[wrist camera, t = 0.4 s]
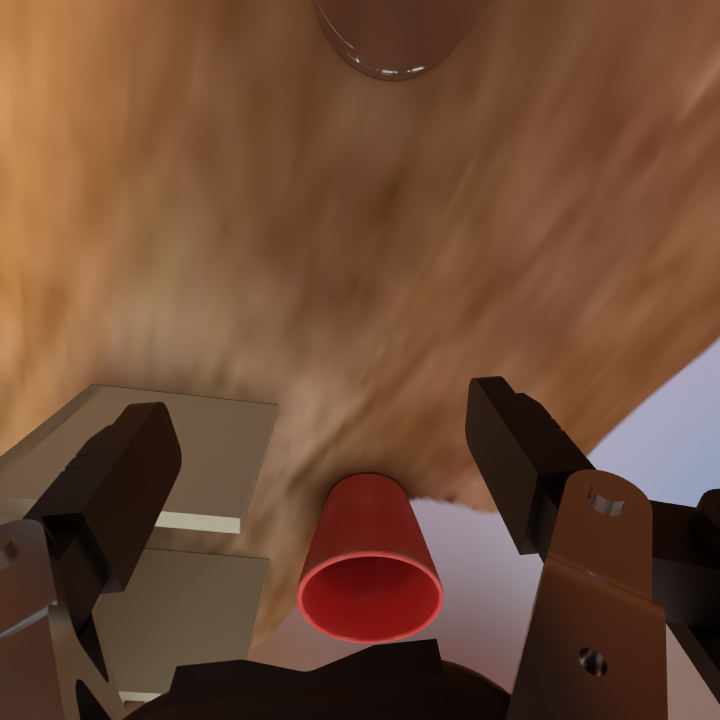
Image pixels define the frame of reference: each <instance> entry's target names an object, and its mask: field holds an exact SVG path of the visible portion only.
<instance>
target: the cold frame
mask: <svg viewBox="0 0 720 720" xmlns="http://www.w3.org/2000/svg"><path fill="white" fill-rule="evenodd" d="M148 402H163V403H164V404H165V405H166V407H167V409H168V411H169V414H170V417H171V420H172V423H173V426H174V429H175V432H176V436H177V439H178V442H179V445H180V448H181V453H182V463H181V469H180V472H179V474H178V477H177V479H176V481H175V483H174V485H173V487H172V490H171V492H170V494H169V496H168V498H167V500H166V502H165V505H164V507H163V509H162V511H161V513H160V515H159V518H158V520H157V522H156V524H155V526H158V527H170V528H181V529H192V530H204V531H215V532H226V533H238V534H240V532H241V529H242V525H243V522H244V519H245V516H246V513H247V510H248V507H249V504H250V500H251V497H252V494H253V491H254V488H255V485H256V482H257V479H258V475H259V472H260V469H261V466H262V463H263V460H264V457H265V454H266V450H267V447H268V444H269V441H270V438H271V435H272V432H273V429H274V425H275V422H276V419H277V411H278V405H273V404H264V403H255V402H246V401H237V400H228V399H219V398H210V397H201V396H192V395H183V394H174V393H165V392H156V391H147V390H138V389H129V388H120V387H111V386H102V385H93V384H91V385H90V386H89V387H88V388H86V389H85V390H84V391H83V392H81V393H80V394H79V395H78V396H76V397H75V398H74V399H73V400H71V401H70V402H69V403H68V404H66V405H65V406H64V407H63V408H61V409H60V410H59V411H57V412H56V413H55V414H54V415H52V416H51V417H50V418H49V419H47V420H46V421H45V422H44V423H42V424H41V425H40V426H39V427H37V428H36V429H35V430H34V431H32V432H31V433H30V434H29V435H27V436H26V437H25V438H24V439H22V440H21V441H20V442H19V443H17V444H16V445H15V446H14V447H12V448H11V449H10V450H9V451H7V452H6V453H5V454H4V455H2V456H1V457H0V525H2V524H5V523H8V522H11V521H16V520H22V518H23V517H24V516H25V515H26V514H27V512H28V511H29V510H30V509H31V508H32V506H33V505H34V504H35V503H36V502H37V500H38V499H39V498H40V497H41V496H42V494H43V493H44V492H45V491H46V490H47V488H48V487H49V486H50V485H51V484H52V482H53V481H54V480H55V479H56V478H57V476H58V475H59V474H60V473H61V472H62V471H65V467H66V466H67V465H68V463H69V462H70V461H71V460H72V459H73V458H76V454H77V453H78V451H79V450H80V449H81V448H82V447H83V445H84V444H85V443H86V442H87V441H88V439H89V438H91V437H92V436H94V435H95V434H96V433H98V432H99V431H101V430H102V429H103V428H105V427H106V426H108V425H112V424H113V423H114V422H115V421H116V419H117V418H118V417H119V416H120V414H121V413H122V412H123V411H124V409H125V408H126V407H127V406H128V405H129V404H135V403H148ZM268 562H269V559H261V558H249V557H237V556H225V555H213V554H201V553H190V552H178V551H166V550H154V549H144V550H143V552H142V554H141V556H140V559H139V561H138V563H137V565H136V567H135V569H134V572H133V574H132V576H131V578H130V580H129V582H128V585H127V587H126V589H125V591H124V592H117V593H107V594H100V596H99V598H98V599H97V601H96V603H95V605H94V607H93V609H94V610H95V612H96V614H97V616H98V620H99V623H100V627H101V631H102V634H103V638H104V642H105V645H106V649H107V652H108V656H109V660H110V663H111V667H112V671H113V674H114V678H115V681H116V685H117V689H118V692H119V695H120V697H121V700H130V701H147V702H149V701H151V700H152V699H154V698H156V697H158V696H160V695H162V694H164V693H166V692H168V691H169V690H170V686H171V683H172V680H173V676H174V673H175V669H176V666H182V665H192V664H201V663H211V662H220V661H230V660H239V659H243V660H248V656H249V652H250V647H251V643H252V638H253V634H254V629H255V625H256V620H257V616H258V611H259V607H260V602H261V597H262V593H263V588H264V584H265V579H266V575H267V570H268Z"/></svg>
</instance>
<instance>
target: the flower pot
mask: <svg viewBox="0 0 720 720" xmlns="http://www.w3.org/2000/svg"><path fill="white" fill-rule="evenodd" d="M443 598H444V596H443V588H442V585H441V582H440V579H439V577H438V574H437V571H436V569H435V566H434V563H433V561H432V558H431V555H430V553H429V550H428V548H427V545H426V543H425V540H424V537H423V535H422V532H421V529H420V527H419V524H418V522H417V519H416V517H415V514H414V512H413V510H412V507H411V505H410V503H409V500H408V498H407V496H406V494H405V492H404V490H403V489H402V488H401V487H400V486H399V485H398V484H397V483H396V482H395V481H393V480H391V479H390V478H387V477H385V476H382V475H378V474H357V475H353V476H350V477H348V478H345V479H343V480H342V481H340V482H339V483H338V484H336V485H335V486H334V487H333V489H332V490H331V492H330V493H329V495H328V498H327V500H326V503H325V506H324V508H323V511H322V514H321V516H320V519H319V522H318V524H317V527H316V530H315V533H314V536H313V539H312V542H311V545H310V548H309V551H308V554H307V557H306V560H305V563H304V567H303V570H302V573H301V577H300V580H299V584H298V588H297V593H296V600H297V606H298V608H299V611H300V613H301V614H302V616H303V617H304V618H305V620H306V621H307V622H308V623H309V624H311V625H312V626H313V627H314V628H316V629H317V630H319V631H321V632H322V633H324V634H327V635H328V636H331V637H334V638H336V639H340V640H344V641H350V642H355V643H383V642H389V641H394V640H398V639H402V638H405V637H407V636H410V635H412V634H414V633H417V632H419V631H420V630H422V629H424V628H425V627H426V626H428V625H429V624H430V623H431V622H432V621H433V620H434V619H435V618H436V616H437V615H438V613H439V612H440V610H441V607H442V604H443Z"/></svg>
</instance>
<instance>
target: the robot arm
mask: <svg viewBox="0 0 720 720" xmlns="http://www.w3.org/2000/svg"><path fill="white" fill-rule="evenodd" d="M491 1H492V0H314V2H315V6H316V10H317V14H318V18H319V20H320V22H321V25H322V27H323V29H324V31H325V34H326V36H327V38H328V39H329V41H330V42H331V44H332V45H333V46H334V48H335V49H336V51H337V52H338V54H339V55H340V56H342V57H343V58H344V59H345V60H346V61H347V62H348V63H349V64H350V65H351V66H352V67H354V68H356V69H357V70H359V71H361V72H362V73H364V74H366V75H368V76H371V77H374V78H378V79H381V80H396V81H399V80H404V79H409V78H414V77H416V76H419V75H421V74H423V73H425V72H427V71H429V70H431V69H432V68H433V67H435V66H436V65H437V64H438V63H440V62H441V61H442V60H444V59H445V58H446V57H447V55H448V54H449V53H450V52H451V51H452V50H453V48H454V47H455V46H456V45H457V44H458V42H459V41H460V40H461V39H462V37H463V36H464V35H465V34H466V32H467V31H468V30H469V29H470V28H471V27H472V25H473V24H474V23H475V22H476V20H477V19H478V18H479V17H480V15H481V14H482V13H483V11H484V10H485V9H486V8H487V6H488V5H489V4H490V3H491ZM465 432H466V440H467V444H468V447H469V449H470V452H471V454H472V456H473V458H474V460H475V462H476V464H477V466H478V468H479V470H480V472H481V475H482V477H483V479H484V481H485V483H486V485H487V487H488V489H489V491H490V493H491V495H492V498H493V500H494V502H495V504H496V506H497V508H498V510H499V512H500V514H501V516H502V518H503V521H504V523H505V525H506V527H507V529H508V531H509V533H510V535H511V537H512V539H513V541H514V543H515V546H516V547H517V550H518V552H519V554H520V555H525V554H536V553H539V556H540V557H541V559H542V561H543V563H544V566H543V570H542V573H541V577H540V581H539V585H538V589H537V593H536V597H535V601H534V604H533V608H532V612H531V616H530V620H529V624H528V628H527V631H526V635H525V639H524V643H523V647H522V651H521V655H520V658H519V662H518V666H517V670H516V673H515V677H514V681H513V685H512V688H511V692H510V694H509V693H508V692H507V691H505V690H504V689H503V688H502V687H501V686H499V685H497V684H496V683H495V682H493V681H491V680H490V679H488V678H487V677H485V676H484V675H482V674H480V673H478V672H475V671H473V670H471V669H469V668H467V667H464V666H462V665H459V664H456V663H453V662H449V661H444V660H441V657H440V653H439V648H438V644H437V640H436V639H428V640H419V641H410V642H400V643H390V644H381V645H373V646H371V647H368V648H366V649H364V650H361V651H359V652H356V653H354V654H352V655H349V656H347V657H344V658H342V659H339V660H337V661H335V662H332V663H330V664H327V665H325V666H323V667H320V668H318V669H316V670H313V671H308V672H302V671H296V670H292V669H286V668H282V667H277V666H272V665H267V664H262V663H257V662H253V661H248V660H243V659H239V660H230V661H220V662H211V663H201V664H192V665H182V666H176V669H175V673H174V676H173V680H172V683H171V686H170V690H169V691H168V692H166V693H164V694H162V695H160V696H158V697H156V698H154V699H152V700H151V701H149V702H147V703H145V704H143V705H142V706H140V707H139V708H137V709H136V710H134V711H133V712H131V713H130V714H128V713H127V711H126V709H125V707H124V705H123V702H122V700H121V697H120V695H119V692H118V689H117V685H116V681H115V678H114V674H113V671H112V667H111V663H110V660H109V656H108V652H107V649H106V645H105V642H104V638H103V634H102V631H101V627H100V623H99V620H98V616H97V614H96V612H95V610H94V609H93V607H94V605H95V603H96V601H97V599H98V598H99V596H100V594H107V593H117V592H124V591H125V589H126V587H127V585H128V582H129V580H130V578H131V576H132V574H133V572H134V569H135V567H136V565H137V563H138V561H139V559H140V556H141V554H142V552H143V550H144V548H145V546H146V544H147V541H148V539H149V537H150V535H151V533H152V531H153V528H154V526H155V524H156V522H157V520H158V518H159V515H160V513H161V511H162V509H163V507H164V505H165V502H166V500H167V498H168V496H169V494H170V492H171V490H172V487H173V485H174V483H175V481H176V479H177V477H178V474H179V472H180V469H181V463H182V453H181V448H180V445H179V442H178V439H177V436H176V432H175V429H174V426H173V423H172V420H171V417H170V414H169V411H168V409H167V407H166V405H165V404H164V403H163V402H148V403H135V404H129V405H128V406H127V407H126V408H125V409H124V411H123V412H122V413H121V414H120V416H119V417H118V418H117V419H116V421H115V422H114V423H113V424H112V425H108V426H106V427H105V428H103V429H102V430H101V431H99V432H98V433H96V434H95V435H94V436H92V437H91V438H89V439H88V441H87V442H86V443H85V444H84V445H83V447H82V448H81V449H80V450H79V451H78V453H77V454H76V458H73V459H72V460H71V461H70V462H69V463H68V465H67V466H66V467H65V471H62V472H61V473H60V474H59V475H58V476H57V478H56V479H55V480H54V481H53V482H52V484H51V485H50V486H49V487H48V488H47V490H46V491H45V492H44V493H43V494H42V496H41V497H40V498H39V499H38V500H37V502H36V503H35V504H34V505H33V506H32V508H31V509H30V510H29V511H28V512H27V514H26V515H25V516H24V517H23V518H22V520H16V521H11V522H8V523H5V524H2V525H0V720H668V703H667V658H666V624H667V625H668V627H669V628H670V630H671V631H672V633H673V634H674V636H675V637H676V639H677V640H678V642H679V643H680V645H681V646H682V648H683V649H684V651H685V653H686V654H687V655H688V657H689V658H690V660H691V662H692V663H693V665H694V666H695V668H696V669H697V671H698V672H699V674H700V675H701V677H702V678H703V680H704V681H705V683H706V684H707V686H708V687H709V689H710V690H711V692H712V693H713V695H714V696H715V698H716V700H717V701H718V703H719V704H720V489H712V490H709V491H707V492H705V493H704V494H703V496H702V497H701V499H700V501H699V503H698V505H697V507H696V508H695V507H689V506H683V505H676V504H670V503H664V502H658V501H652V500H648V498H647V497H646V495H645V494H644V493H643V492H642V491H641V490H640V489H639V488H637V487H636V486H635V485H634V484H632V483H631V482H629V481H627V480H626V479H624V478H622V477H620V476H618V475H615V474H612V473H609V472H605V471H600V470H596V468H595V467H594V466H593V465H592V464H591V463H590V461H589V460H588V459H587V458H586V457H585V455H584V454H583V453H582V452H581V451H580V450H579V448H578V447H577V446H576V445H575V444H574V443H573V441H572V440H571V439H570V438H569V437H568V435H567V434H566V433H565V432H564V431H563V430H561V427H560V426H559V425H558V424H557V422H556V421H555V420H554V419H552V418H551V415H550V414H549V413H548V412H547V411H546V410H545V408H544V407H543V406H542V405H541V404H540V403H539V402H537V401H535V400H534V399H532V398H531V397H529V396H527V395H526V394H524V393H517V394H516V393H515V392H514V391H513V390H512V388H511V387H510V386H509V384H508V383H507V382H506V381H505V379H504V378H503V377H501V376H495V377H482V378H472V379H471V381H470V385H469V394H468V404H467V414H466V424H465Z"/></svg>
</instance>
